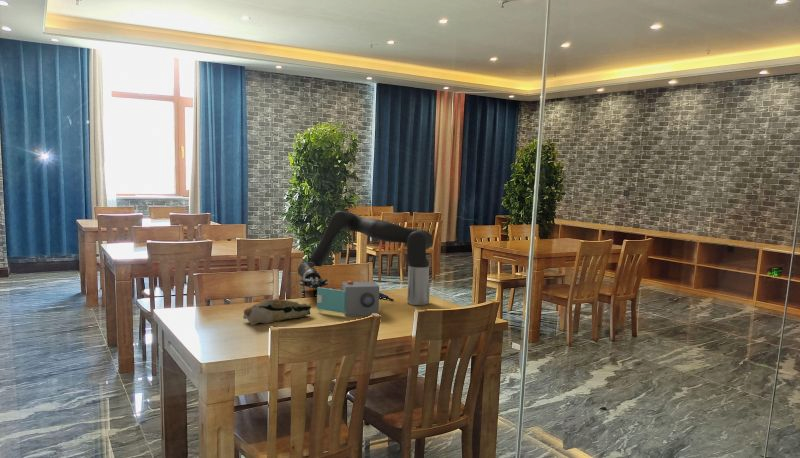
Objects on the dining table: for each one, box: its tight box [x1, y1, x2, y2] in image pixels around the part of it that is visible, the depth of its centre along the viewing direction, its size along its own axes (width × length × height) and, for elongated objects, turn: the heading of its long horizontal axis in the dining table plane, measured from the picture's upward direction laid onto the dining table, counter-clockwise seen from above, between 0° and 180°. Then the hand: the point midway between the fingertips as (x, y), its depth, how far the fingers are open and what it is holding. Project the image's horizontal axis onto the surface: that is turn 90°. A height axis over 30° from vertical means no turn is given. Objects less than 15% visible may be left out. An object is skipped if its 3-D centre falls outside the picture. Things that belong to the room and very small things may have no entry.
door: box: [316, 287, 345, 314], centre depth 225 cm, size 2×13×9 cm, turn 65°
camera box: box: [341, 280, 380, 317], centre depth 229 cm, size 14×12×13 cm
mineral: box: [242, 298, 313, 326], centre depth 215 cm, size 26×9×10 cm
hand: (316, 286), depth 240 cm, fingers closed
